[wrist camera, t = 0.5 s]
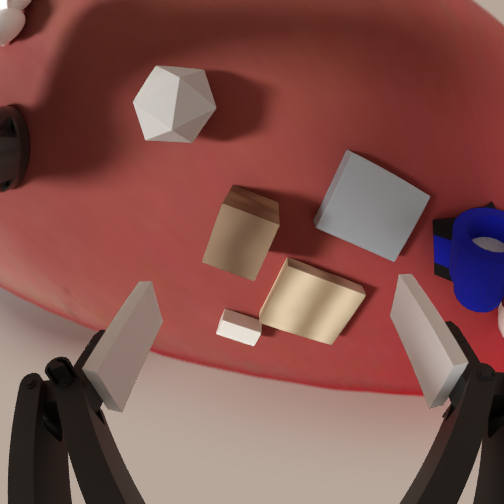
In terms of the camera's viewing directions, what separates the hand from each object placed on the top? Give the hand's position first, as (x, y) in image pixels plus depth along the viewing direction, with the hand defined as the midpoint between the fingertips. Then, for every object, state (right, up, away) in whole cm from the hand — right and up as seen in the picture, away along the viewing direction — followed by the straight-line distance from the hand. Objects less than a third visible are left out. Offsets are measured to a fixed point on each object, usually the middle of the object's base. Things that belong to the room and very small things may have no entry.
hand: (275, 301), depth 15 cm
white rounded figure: (-39, +42, +8) cm, 57 cm away
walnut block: (-2, +7, +22) cm, 23 cm away
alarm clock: (+31, +4, +21) cm, 38 cm away
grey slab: (+14, +9, +21) cm, 26 cm away
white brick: (-3, -8, +30) cm, 31 cm away
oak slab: (+7, -4, +27) cm, 29 cm away
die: (-9, +20, +17) cm, 28 cm away
